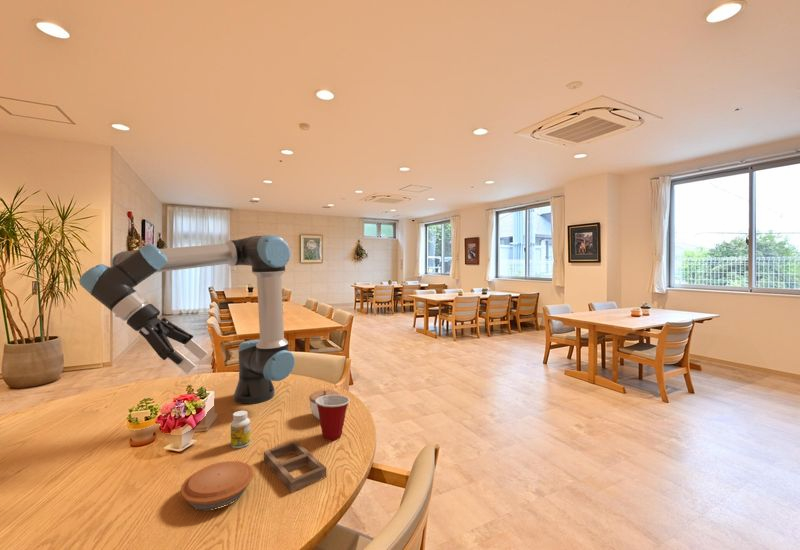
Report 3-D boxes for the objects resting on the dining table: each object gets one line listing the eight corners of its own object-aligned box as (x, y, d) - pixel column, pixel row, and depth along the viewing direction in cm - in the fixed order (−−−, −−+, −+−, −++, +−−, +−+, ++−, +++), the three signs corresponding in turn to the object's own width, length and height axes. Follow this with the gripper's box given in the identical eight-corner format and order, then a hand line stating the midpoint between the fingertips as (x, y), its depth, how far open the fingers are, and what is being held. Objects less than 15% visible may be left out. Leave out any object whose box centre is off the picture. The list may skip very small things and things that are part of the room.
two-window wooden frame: (263, 460, 99) (263, 451, 99) (296, 448, 105) (296, 440, 105) (291, 492, 85) (291, 482, 85) (326, 477, 91) (326, 467, 91)
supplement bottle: (254, 441, 109) (254, 410, 108) (241, 450, 104) (241, 418, 103) (239, 438, 110) (239, 408, 110) (226, 447, 105) (226, 415, 105)
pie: (174, 526, 74) (174, 503, 74) (186, 483, 88) (186, 463, 88) (254, 506, 80) (254, 485, 80) (253, 469, 95) (253, 451, 94)
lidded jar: (343, 410, 132) (343, 386, 131) (335, 424, 121) (335, 397, 121) (315, 409, 133) (315, 384, 132) (304, 422, 122) (304, 395, 122)
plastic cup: (355, 430, 116) (355, 395, 116) (339, 447, 106) (339, 407, 106) (326, 425, 120) (326, 390, 119) (308, 440, 110) (308, 402, 109)
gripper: (145, 315, 109) (199, 360, 114) (102, 330, 85) (173, 387, 90) (165, 298, 111) (217, 343, 115) (128, 308, 87) (196, 365, 91)
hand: (198, 362), depth 103 cm, fingers open, 13 cm apart
